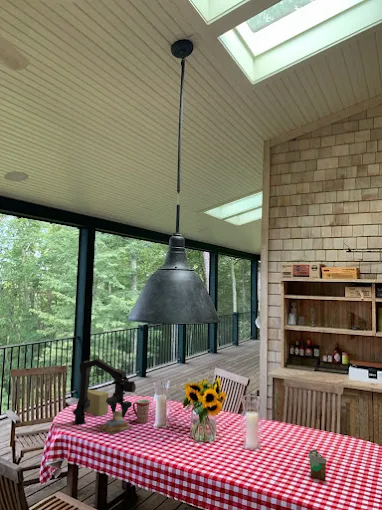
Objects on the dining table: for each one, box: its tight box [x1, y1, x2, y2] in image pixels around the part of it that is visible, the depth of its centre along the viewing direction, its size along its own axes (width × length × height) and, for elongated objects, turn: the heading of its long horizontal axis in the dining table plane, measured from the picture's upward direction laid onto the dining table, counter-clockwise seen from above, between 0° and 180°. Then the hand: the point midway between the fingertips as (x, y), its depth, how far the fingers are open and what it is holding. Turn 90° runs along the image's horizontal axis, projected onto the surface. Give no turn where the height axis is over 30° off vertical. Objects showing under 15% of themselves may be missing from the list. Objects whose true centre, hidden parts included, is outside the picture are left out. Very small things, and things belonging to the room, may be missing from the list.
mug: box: [132, 398, 151, 424], centre depth 268 cm, size 13×9×14 cm
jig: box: [97, 421, 132, 435], centre depth 252 cm, size 14×16×3 cm
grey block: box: [106, 418, 125, 427], centre depth 253 cm, size 4×10×5 cm, turn 137°
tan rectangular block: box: [112, 410, 124, 421], centre depth 255 cm, size 4×6×4 cm
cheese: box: [85, 388, 110, 417], centre depth 286 cm, size 22×10×15 cm, turn 58°
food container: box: [307, 448, 327, 481], centre depth 194 cm, size 12×6×10 cm, turn 5°
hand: (118, 416), depth 255 cm, fingers open, 9 cm apart
